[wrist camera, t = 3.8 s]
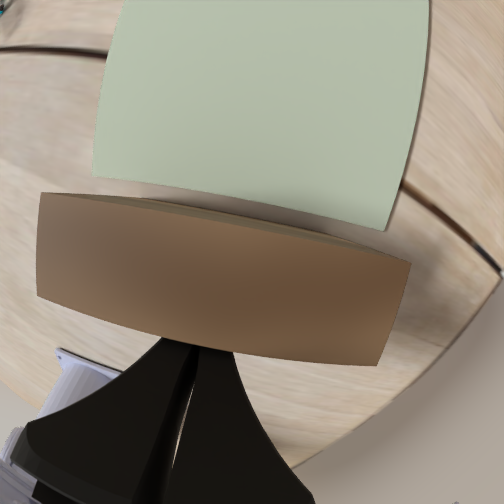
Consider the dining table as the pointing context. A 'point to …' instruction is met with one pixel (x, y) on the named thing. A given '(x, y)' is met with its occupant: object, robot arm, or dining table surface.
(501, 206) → the dining table surface
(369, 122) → the mat
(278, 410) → the dining table surface
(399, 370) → the dining table surface
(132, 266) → the slab
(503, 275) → the dining table surface
